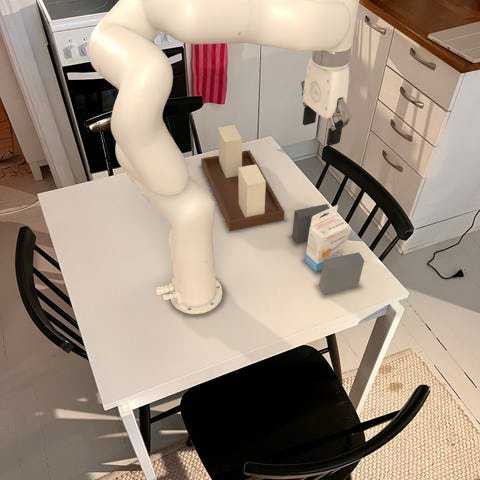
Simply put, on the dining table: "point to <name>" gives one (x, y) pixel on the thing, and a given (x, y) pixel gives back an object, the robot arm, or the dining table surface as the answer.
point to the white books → (241, 172)
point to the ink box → (325, 238)
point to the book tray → (229, 195)
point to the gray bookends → (334, 269)
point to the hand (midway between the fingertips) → (320, 133)
